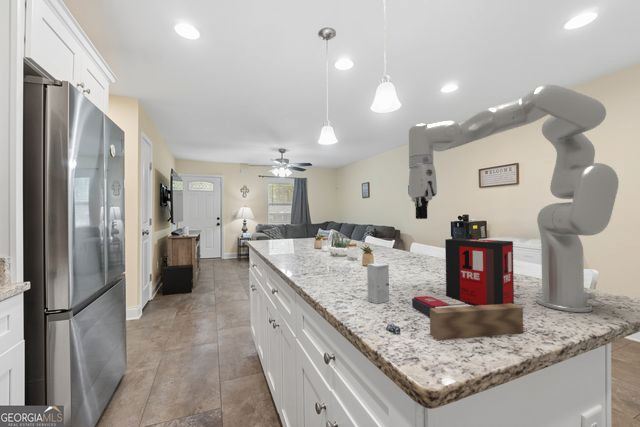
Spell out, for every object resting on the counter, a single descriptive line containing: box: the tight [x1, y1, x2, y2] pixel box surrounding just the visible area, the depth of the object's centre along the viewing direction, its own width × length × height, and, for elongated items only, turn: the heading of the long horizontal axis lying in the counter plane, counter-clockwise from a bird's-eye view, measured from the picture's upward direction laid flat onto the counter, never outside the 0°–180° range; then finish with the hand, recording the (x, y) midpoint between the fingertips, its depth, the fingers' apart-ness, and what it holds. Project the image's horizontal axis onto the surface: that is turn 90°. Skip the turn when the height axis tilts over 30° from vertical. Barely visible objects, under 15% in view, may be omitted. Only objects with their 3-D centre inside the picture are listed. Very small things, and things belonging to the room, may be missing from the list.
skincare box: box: [366, 262, 390, 305], centre depth 87 cm, size 6×4×12 cm
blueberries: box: [384, 322, 407, 336], centre depth 64 cm, size 7×8×2 cm
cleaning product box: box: [445, 237, 515, 306], centre depth 84 cm, size 16×9×20 cm, turn 37°
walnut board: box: [429, 303, 524, 341], centre depth 62 cm, size 22×3×6 cm, turn 98°
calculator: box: [411, 294, 471, 318], centre depth 75 cm, size 11×4×15 cm
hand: (421, 218), depth 86 cm, fingers closed
